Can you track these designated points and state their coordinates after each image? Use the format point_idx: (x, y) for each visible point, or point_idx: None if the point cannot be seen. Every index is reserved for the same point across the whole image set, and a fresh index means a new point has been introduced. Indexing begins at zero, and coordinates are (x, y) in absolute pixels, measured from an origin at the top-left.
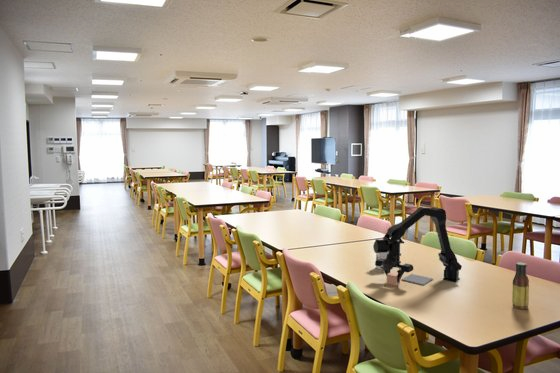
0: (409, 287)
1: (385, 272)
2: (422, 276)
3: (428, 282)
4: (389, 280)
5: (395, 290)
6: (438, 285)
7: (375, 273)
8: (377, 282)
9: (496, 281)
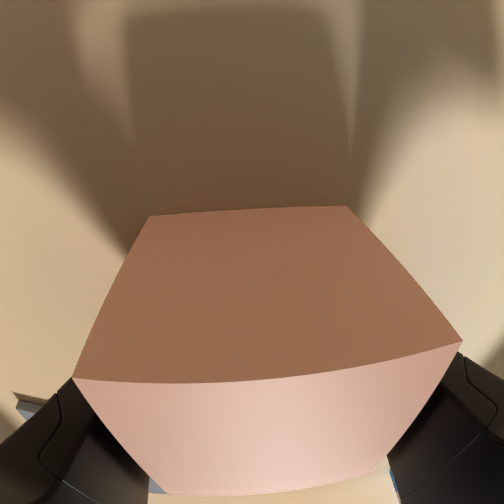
0: (4, 293)
1: (496, 379)
2: (162, 492)
3: None
4: (307, 242)
5: (28, 13)
6: (6, 427)
7: (491, 368)
8: (472, 153)
9: None
